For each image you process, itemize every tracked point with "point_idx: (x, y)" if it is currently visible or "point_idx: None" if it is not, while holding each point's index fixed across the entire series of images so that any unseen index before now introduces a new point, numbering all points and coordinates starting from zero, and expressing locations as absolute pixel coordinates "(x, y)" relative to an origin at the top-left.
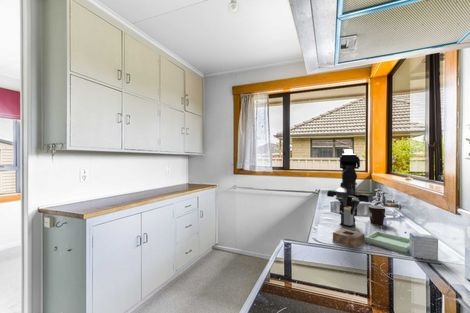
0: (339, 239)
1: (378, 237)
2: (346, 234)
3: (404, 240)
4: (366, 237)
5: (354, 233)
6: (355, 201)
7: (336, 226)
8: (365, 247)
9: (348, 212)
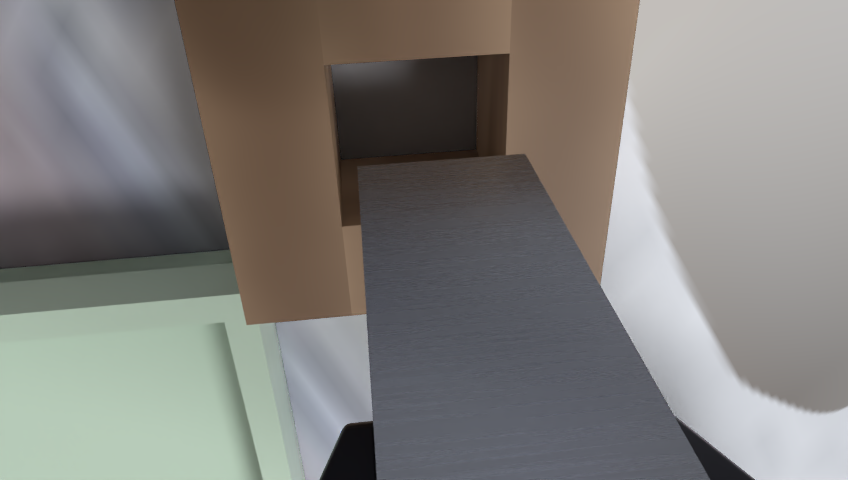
0: None
1: (232, 469)
2: (402, 32)
3: None
4: (222, 294)
5: (354, 222)
6: None
7: (748, 444)
8: (124, 74)
9: (457, 410)
